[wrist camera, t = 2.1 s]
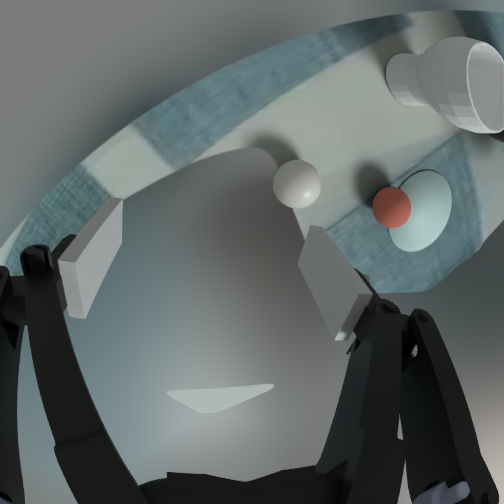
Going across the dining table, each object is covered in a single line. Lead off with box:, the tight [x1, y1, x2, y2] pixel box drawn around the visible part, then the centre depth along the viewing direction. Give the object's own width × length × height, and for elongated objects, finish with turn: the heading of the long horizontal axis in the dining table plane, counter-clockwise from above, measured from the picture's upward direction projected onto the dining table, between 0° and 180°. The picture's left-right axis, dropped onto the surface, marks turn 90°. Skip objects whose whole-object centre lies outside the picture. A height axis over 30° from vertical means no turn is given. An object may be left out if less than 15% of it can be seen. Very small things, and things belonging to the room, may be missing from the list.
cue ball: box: [273, 160, 322, 208], centre depth 31 cm, size 6×6×6 cm
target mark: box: [388, 170, 452, 252], centre depth 38 cm, size 14×14×1 cm
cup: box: [386, 37, 504, 133], centre depth 21 cm, size 11×11×15 cm
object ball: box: [372, 187, 411, 228], centre depth 34 cm, size 6×6×6 cm
